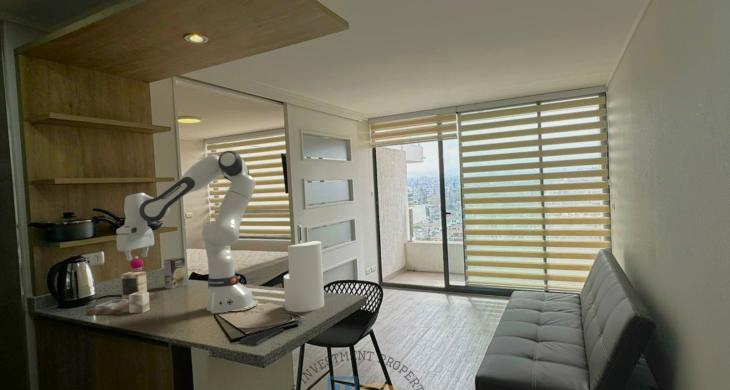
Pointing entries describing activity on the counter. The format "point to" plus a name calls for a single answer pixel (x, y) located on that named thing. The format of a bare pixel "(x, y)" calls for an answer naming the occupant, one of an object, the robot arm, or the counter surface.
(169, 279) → the coffee box
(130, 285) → the cream box on board
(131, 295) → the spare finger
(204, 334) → the counter surface
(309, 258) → the cylinder
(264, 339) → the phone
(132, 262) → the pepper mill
